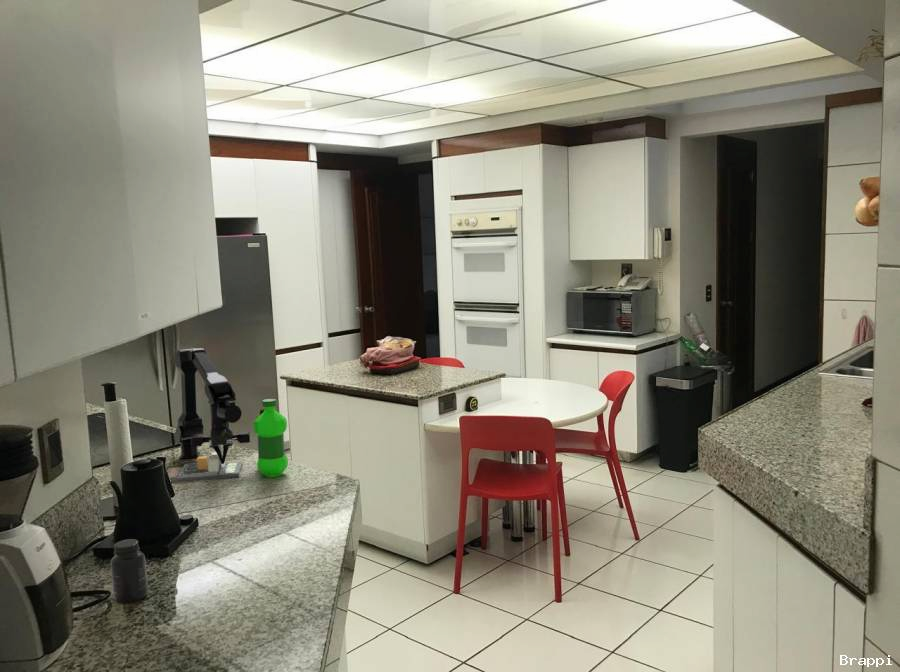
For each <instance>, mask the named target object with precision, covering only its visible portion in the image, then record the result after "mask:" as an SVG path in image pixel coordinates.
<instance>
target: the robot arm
mask: <svg viewBox="0 0 900 672" xmlns="http://www.w3.org/2000/svg"><path fill="white" fill-rule="evenodd" d="M173 360H174V364H175V367H176V369H177V370H178V372H179V373H180V379H181V380H180V382H181V383H180V384H181V407H182V408H181V410H182V412H181V414H180V416H179V417H178V419H177V426H176V428H175V432H174V434H173V437H174V441H175V442H177V443H179V444H180V456H179V457H178V459H179V460H183V459H184V460H185V459H194V458H195V459H197V458H198V457H200V454H201V451H199V450H198V449H199V448H198V447H201V446H202V445H203V444H204V443H209V448H211V449H213V450H214V452H216V453H217V455H218V457H219V459H220V461H221V464H224V463H225V461H226V458H227V456H228V455H227V454H228V451H229V448H230V447H233V445H234V442H235V441H237V442H238V443H239V444H246V443H247V444H248V443H250V442H251V440H252V432H251V431H250V430H241V431H238V432H237V434H234V433H233V429H232V428H231V427H230V424H235V423H236V422H238V421H240V419H241V417H242V410H241V408H240V406H239V405H236V401H237V398H236V393H235V391H234V389H233V388H232V385H231V383H230V381H228V379H227V378H226V377H225V376H224V375H221V374H220V373H218V372H217V371H216V369H215V367H214V365H213V364H212V362H211V361H210V359H209V357H208V356H207V352H206V350H205V349H204V348H201V347H199V348H198V347H197V348H195V347H194V348H192V347H191V348H184V349H177V351H176V352H175V353H174V355H173ZM197 372H198V373H199V375H200V377H201V378H202V380H203V381H204V393H205V396H206V397H207V399H208V400H207V401H208V402H207V403H208V404H209V408H210V409H209V410H210V423H211V424H210V425H211V429H210V433H209V434H210V436H206V433H204V425H203V419H202V418H201V416H200V415H199V414H198V410H197V388H196V385H197V384H196V373H197Z"/></svg>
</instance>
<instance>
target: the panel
mask: <svg viewBox="0 0 900 672" xmlns="http://www.w3.org/2000/svg"><path fill="white" fill-rule="evenodd" d="M242 468H243V462H232V463H231V462H229V463H227V460H225V463H224V464H222V466H221V465H219V473H218V472H209V470H208V469H200V470H198V467H197V462H196V463H184V465H183V466H182V467H181V466H179V467H169V468H168V469H167V470H166V472H168V475H169V477H170V480H171V482H170V483H178V482H179V483H181V482H194V481H204V480H205V481H207V480H216V479H217V480H219V479H229V478H232V479H233V478H239V477H240V476H241V475H240V474H241V471H242Z"/></svg>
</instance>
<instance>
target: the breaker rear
mask: <svg viewBox="0 0 900 672" xmlns="http://www.w3.org/2000/svg"><path fill="white" fill-rule="evenodd" d="M210 455H211V456H210V457H211V458H210V459H217V458H219V457H218V455H217V453H216V451H214V452H211V454H210ZM219 465H221V466H222V464H221V461H220V459H219Z"/></svg>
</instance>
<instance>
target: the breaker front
mask: <svg viewBox="0 0 900 672" xmlns="http://www.w3.org/2000/svg"><path fill="white" fill-rule="evenodd" d="M208 470H209V472H218V473H219V458H217V459H211V458H208Z"/></svg>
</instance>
